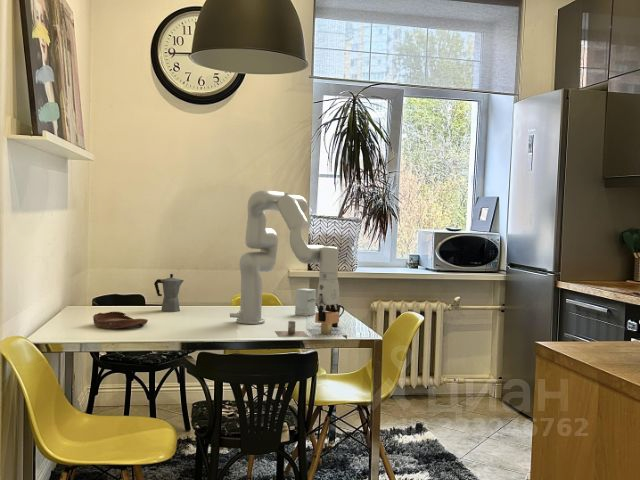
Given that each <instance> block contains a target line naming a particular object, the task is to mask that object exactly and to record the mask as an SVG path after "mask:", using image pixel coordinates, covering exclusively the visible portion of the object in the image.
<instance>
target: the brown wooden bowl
mask: <svg viewBox="0 0 640 480" xmlns="http://www.w3.org/2000/svg"><path fill="white" fill-rule="evenodd" d="M92 318H93V324H94V326H95V327H96V328H100V329H121V328H128V327H132V326H137V325H139V326H145V325H146V324H147V323H148V321H149V319H146V318H132V317H131V316H129V315H127V314H126V313H124V312H122V311H109V312H99V313H95V314H94V315H93V317H92Z"/></svg>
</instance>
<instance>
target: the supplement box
mask: <svg viewBox="0 0 640 480" xmlns="http://www.w3.org/2000/svg"><path fill="white" fill-rule="evenodd" d="M316 295H317V289H313V288H307V287H306V288H296V289H295V306H294V308H295V309H294V313H295V314H294V315H296V316H297V315H298V316H302V317H303V316H304V317H308V316H314V315H315V313H316V304H315V302H316V301H317V296H316Z"/></svg>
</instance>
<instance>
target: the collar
mask: <svg viewBox="0 0 640 480" xmlns="http://www.w3.org/2000/svg"><path fill="white" fill-rule="evenodd" d="M325 312H326V319H325V322H322V321H318V311H317V312H316V311H315V318H314V319H315V321H314V322H315V323H317V324H322V323H323V324H334V323H338V324H339V322H340V317H339V315H340V313H338V312H329V311H325Z"/></svg>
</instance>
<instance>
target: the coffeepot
mask: <svg viewBox="0 0 640 480" xmlns="http://www.w3.org/2000/svg"><path fill="white" fill-rule="evenodd" d="M183 282H184V279H180V278H175V277H174V274H173V273H170V274H169V277H167V278H164V279H163V278H161V279H160V278H158V279H156V280H155V281H154V289H155V291H156V295H157V297H162V296H163V300H162V303H161V312H163V313H166V312H167V313H177V312H180V303H179V294H180V293H179V292H180V288H181V285H182V283H183ZM159 284H162V290H163V291H162V292H163V294H161V293H160V287H159Z"/></svg>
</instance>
